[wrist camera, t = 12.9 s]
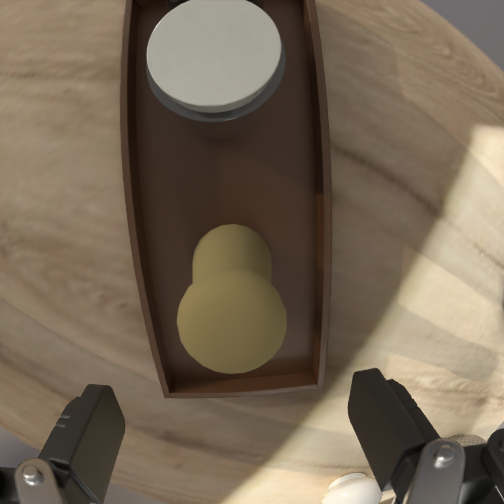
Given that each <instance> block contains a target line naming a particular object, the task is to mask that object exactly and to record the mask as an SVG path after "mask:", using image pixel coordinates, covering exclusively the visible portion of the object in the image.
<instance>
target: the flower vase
mask: <svg viewBox="0 0 504 504" xmlns="http://www.w3.org/2000/svg"><path fill="white" fill-rule="evenodd" d="M382 495H383V492H381V490H380V488H379V486H378V483H377V481H376V479H373V478H369V477H367V476H366V475H365V474H364V473H351V474H347V475H344V476H341V477H339V478H337V479H336V480H334V481H333V482H332V483H330V484H329V486H328V492H327V493H326V494H325V496H324V497H323V499H322V501H321V504H379V503H380V500H381V498H382Z"/></svg>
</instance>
